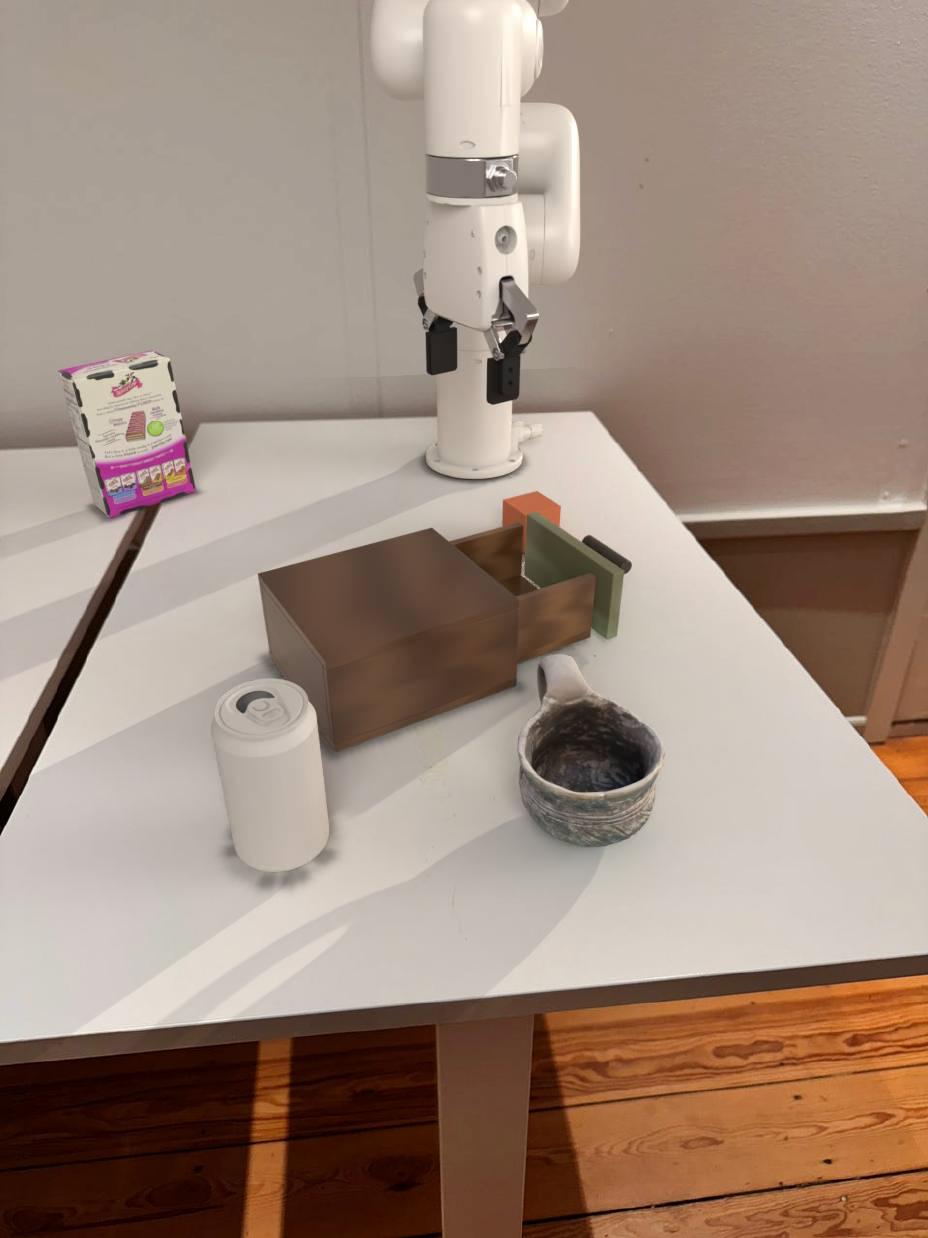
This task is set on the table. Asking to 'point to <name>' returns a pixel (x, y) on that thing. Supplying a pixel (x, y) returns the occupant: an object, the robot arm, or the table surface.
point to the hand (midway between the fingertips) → (471, 385)
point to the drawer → (552, 582)
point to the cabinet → (390, 633)
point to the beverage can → (271, 774)
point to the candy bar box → (129, 431)
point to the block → (529, 510)
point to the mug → (586, 761)
